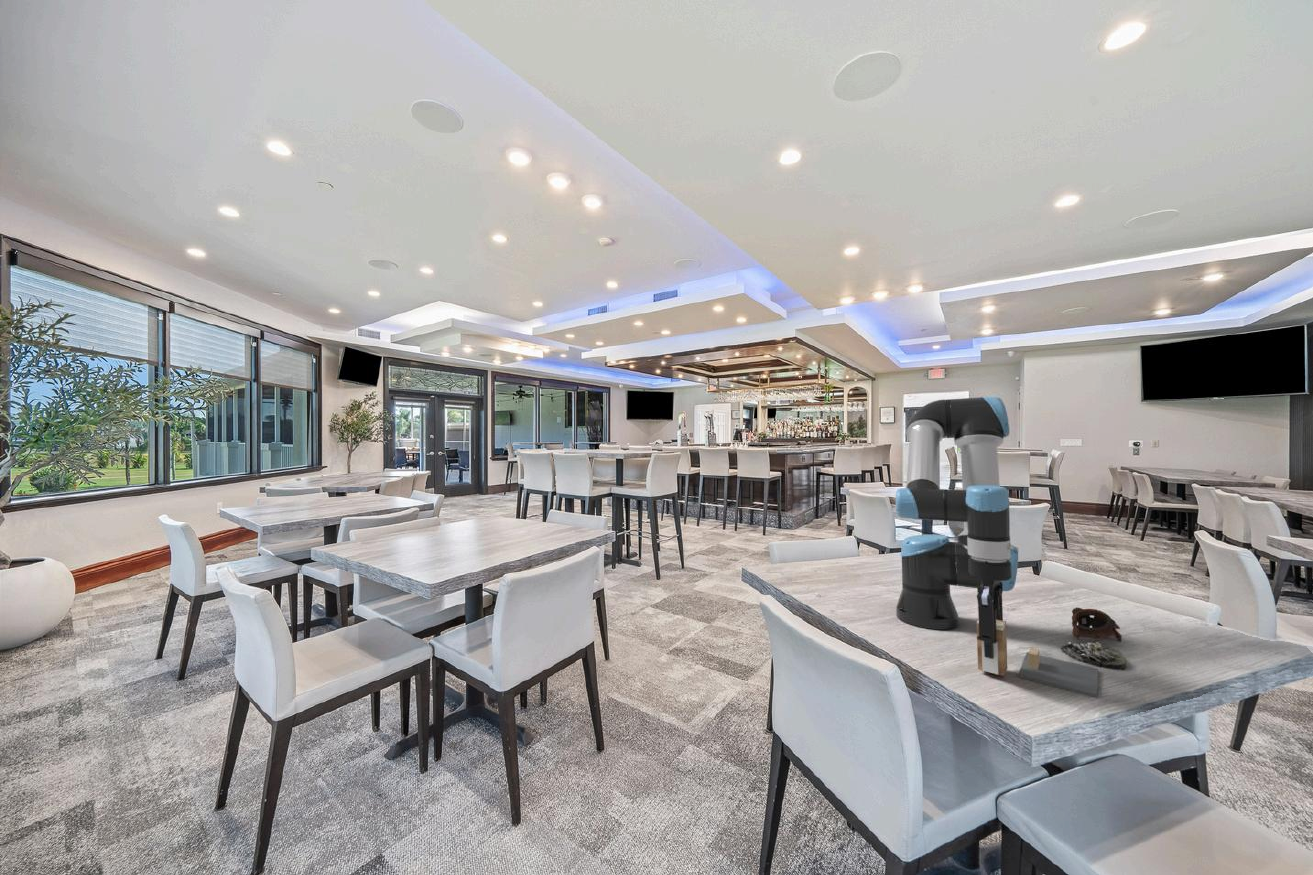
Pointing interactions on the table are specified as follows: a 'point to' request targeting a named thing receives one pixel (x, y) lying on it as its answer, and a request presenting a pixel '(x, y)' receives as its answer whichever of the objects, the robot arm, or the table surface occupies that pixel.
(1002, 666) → the teak block
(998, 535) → the robot arm
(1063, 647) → the oyster shell
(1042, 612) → the table surface
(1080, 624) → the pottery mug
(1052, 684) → the board
